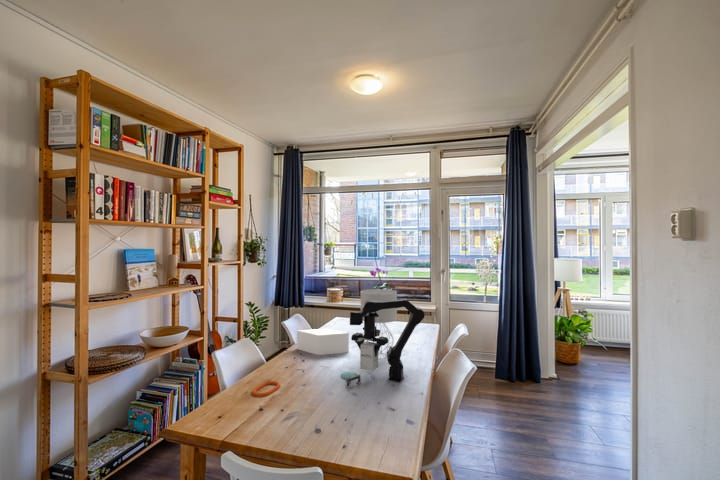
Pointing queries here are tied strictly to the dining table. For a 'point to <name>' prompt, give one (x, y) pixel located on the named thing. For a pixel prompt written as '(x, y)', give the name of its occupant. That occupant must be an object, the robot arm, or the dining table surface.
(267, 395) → the orange oval ring
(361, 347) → the supplement box
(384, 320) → the table lamp
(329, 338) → the block
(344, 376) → the teal round disc
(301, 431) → the dining table surface
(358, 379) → the grey cabinet handle
